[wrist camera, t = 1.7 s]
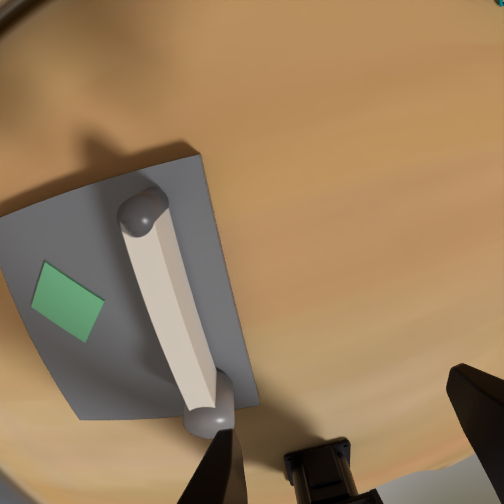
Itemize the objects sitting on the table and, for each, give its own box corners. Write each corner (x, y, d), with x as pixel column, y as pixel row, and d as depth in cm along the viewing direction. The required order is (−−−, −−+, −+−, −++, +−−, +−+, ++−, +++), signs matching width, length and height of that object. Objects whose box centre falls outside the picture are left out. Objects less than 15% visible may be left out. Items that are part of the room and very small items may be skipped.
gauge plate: (258, 394, 24) (260, 407, 22) (83, 411, 24) (79, 421, 22) (200, 154, 18) (198, 154, 17) (-5, 219, 18) (-16, 224, 17)
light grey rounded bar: (237, 398, 22) (239, 435, 18) (195, 404, 22) (192, 441, 18) (177, 180, 17) (164, 189, 13) (123, 194, 17) (98, 207, 13)
